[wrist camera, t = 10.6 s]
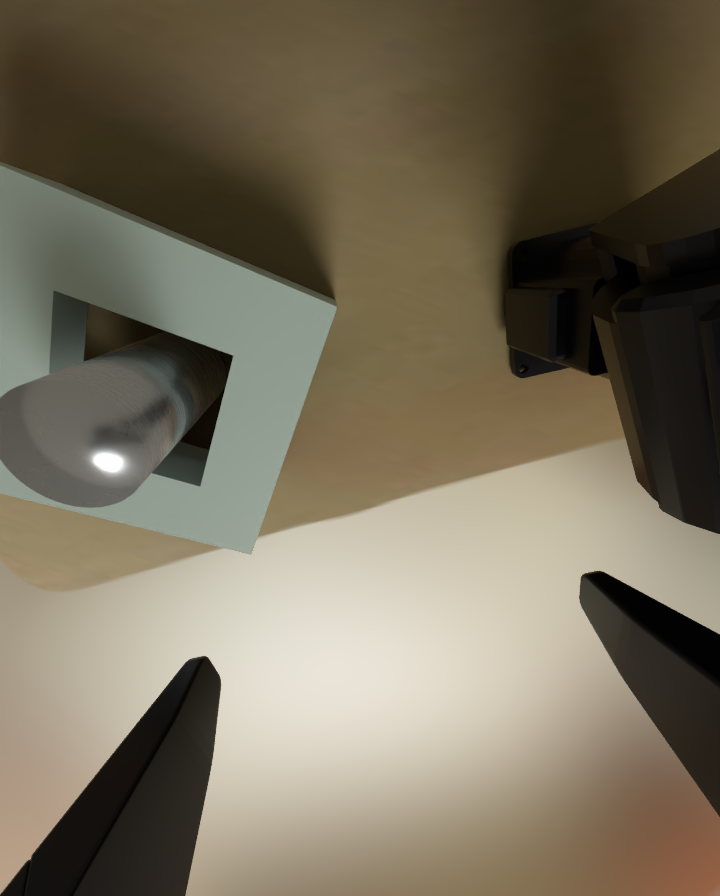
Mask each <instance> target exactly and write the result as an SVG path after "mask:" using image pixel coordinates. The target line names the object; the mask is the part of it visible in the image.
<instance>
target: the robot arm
mask: <svg viewBox="0 0 720 896" xmlns="http://www.w3.org/2000/svg"><path fill="white" fill-rule="evenodd" d="M520 248H522V249H523V251H524V254H523V257H522V258H521V259H519V258H518V256H517V253H518V250H519V249H520ZM508 271H509V289H508V291H507V293H506V294H505V308H506V339H507V345H509V346H510V347H511V370H512V373H513V374H514V375H515V376H517V377H519V378H526V377H530V376H535V375H539V374H544V373H548V372H552V371H557V370H561V369H565V368H572V369H575V370H578V371H581V372H583V373H586V374H589V375H594V376H596V375H599V376H601V377H604V378H607V379H610V382H611V385H612V389H613V393H614V396H615V400H616V404H617V408H618V411H619V415H620V419H621V423H622V426H623V430H624V434H625V437H626V441H627V445H628V449H629V452H630V456H631V459H632V464H633V467H634V471H635V475H636V478H637V481H638V482H639V483H640V484H641V485H642V487H643V488H644V489H645V490H646V491H647V492H648V493H649V495H650V496H651V497H652V498H653V499H655V500H656V501H657V502H658V504H659V508H660V509H661V510H662V511H663V512H666V513H667V514H669V515H671V516H673V517H675V518H677V519H679V520H681V521H682V522H685V523H687V524H690V525H693V526H696V527H700V528H703V529H706V530H708V531H711V532H714V533H718V534H720V149H719V150H718V151H716V152H714V153H713V154H711V155H709V156H708V157H706V158H704V159H703V160H701V161H700V162H698V163H696V164H695V165H693V166H691V167H690V168H688V169H686V170H685V171H683V172H681V173H680V174H678V175H677V176H675V177H673V178H672V179H670V180H668V181H667V182H665V183H663V184H662V185H660V186H658V187H657V188H655V189H654V190H652V191H650V192H649V193H647V194H645V195H644V196H642V197H640V198H639V199H637V200H635V201H634V202H632V203H631V204H629V205H627V206H626V207H624V208H622V209H621V210H619V211H617V212H616V213H614V214H612V215H611V216H609V217H607V218H606V219H604V220H603V221H601V222H599V223H595V224H591V225H587V226H583V227H579V228H574V229H570V230H566V231H562V232H558V233H553V234H549V235H545V236H541V237H537V238H533V239H528V240H524V241H520V242H517V243H515V244H514V245H513V246H512V247H511V248H510V250H509V253H508ZM523 364H525V369H524V370H523V371H521V372H520V371H519V369H520V367H521V365H523ZM579 599H580V604H581V606H582V609H583V610H584V612H585V614H586V616H587V617H588V619H589V621H590V623H591V624H592V626H593V628H594V630H595V631H596V633H597V635H598V636H599V638H600V640H601V642H602V643H603V645H604V647H605V649H606V651H607V652H608V654H609V656H610V657H611V659H612V661H613V663H614V665H615V666H616V668H617V669H618V671H619V673H620V674H621V676H622V678H623V679H624V681H625V682H626V684H627V685H628V686H629V688H630V689H631V691H632V692H633V694H634V695H635V697H636V698H637V700H638V701H639V702H640V704H641V705H642V707H643V708H644V710H645V711H646V712H647V714H648V715H649V717H650V718H651V720H652V721H653V722H654V724H655V725H656V727H657V728H658V730H659V731H660V732H661V734H662V735H663V737H664V738H665V740H666V741H667V742H668V744H669V745H670V747H671V748H672V750H673V751H674V752H675V754H676V755H677V757H678V758H679V760H680V761H681V762H682V764H683V765H684V767H685V768H686V770H687V771H688V772H689V774H690V775H691V777H692V778H693V779H694V781H695V782H696V784H697V785H698V787H699V788H700V790H701V791H702V792H703V794H704V795H705V796H706V798H707V800H708V801H709V802H710V804H711V805H712V807H713V808H714V809H715V811H716V812H717V814H718V815H719V817H720V634H718V633H716V632H714V631H712V630H710V629H709V628H707V627H705V626H703V625H701V624H699V623H697V622H696V621H693V620H692V619H690V618H688V617H686V616H684V615H683V614H680V613H679V612H677V611H675V610H673V609H671V608H670V607H668V606H666V605H664V604H662V603H660V602H658V601H657V600H655V599H653V598H651V597H649V596H647V595H645V594H644V593H642V592H640V591H638V590H636V589H634V588H632V587H631V586H629V585H627V584H625V583H623V582H621V581H620V580H618V579H616V578H614V577H612V576H610V575H608V574H607V573H604V572H602V571H594V572H590V573H585V574H583V575H582V577H581V584H580V596H579ZM220 690H221V679H220V676H219V674H218V672H217V671H216V669H215V668H214V666H213V664H212V663H211V661H210V660H209V658H208V657H206V656H202V657H197V658H192V659H190V660H188V661H187V662H186V663H185V664H184V665H183V667H182V668H181V669H180V670H179V671H178V673H177V674H176V675H175V676H174V678H173V679H172V680H171V682H170V683H169V684H168V685H167V686H166V688H165V689H164V690H163V691H162V693H161V694H160V695H159V697H158V698H157V699H156V700H155V702H154V703H153V704H152V705H151V707H150V708H149V709H148V710H147V712H146V713H145V714H144V716H143V717H142V718H141V719H140V721H139V722H138V723H137V724H136V725H135V727H134V728H133V729H132V730H131V732H130V733H129V734H128V735H127V737H126V738H125V739H124V740H123V742H122V743H121V744H120V745H119V747H118V748H117V749H116V751H115V752H114V753H113V754H112V755H111V757H110V758H109V759H108V760H107V762H106V763H105V764H104V765H103V767H102V768H101V769H100V771H99V772H98V773H97V774H96V775H95V777H94V778H93V779H92V780H91V782H90V783H89V784H88V785H87V787H86V788H85V789H84V790H83V792H82V793H81V794H80V795H79V797H78V798H77V799H76V800H75V802H74V803H73V804H72V806H71V807H70V808H69V809H68V810H67V812H66V813H65V814H64V816H63V817H62V818H61V819H60V820H59V822H58V823H57V824H56V825H55V827H54V828H53V829H52V831H51V832H50V833H49V834H48V835H47V837H46V838H45V839H44V840H43V842H42V843H41V844H40V846H39V847H38V848H37V849H36V851H35V852H34V853H33V855H32V857H31V860H28V861H27V862H26V863H25V864H24V865H23V867H22V868H21V869H20V870H19V872H18V873H17V874H16V875H15V877H14V878H13V879H12V880H11V882H10V883H9V884H8V886H7V887H6V888H5V889H4V890H3V892H2V893H1V894H0V896H185V894H186V889H187V884H188V879H189V874H190V869H191V864H192V859H193V855H194V850H195V845H196V840H197V835H198V830H199V825H200V820H201V815H202V811H203V806H204V800H205V796H206V791H207V786H208V781H209V776H210V771H211V765H212V758H213V752H214V742H215V734H216V725H217V717H218V708H219V699H220Z"/></svg>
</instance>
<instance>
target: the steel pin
mask: <svg viewBox="0 0 720 896" xmlns="http://www.w3.org/2000/svg"><path fill="white" fill-rule="evenodd" d="M225 382H226V369H225V364H224V362H223V359H222V357H221V355H220V354H219V352H218V351H217V349H214V348H211V347H208V346H206V345H203V344H200V343H197V342H195V341H192V340H189V339H186V338H184V337H181V336H178V335H175V334H173V333H170V332H167V331H164V332H161V333H158V334H156V335H153V336H150V337H148V338H145V339H142V340H140V341H137V342H134V343H132V344H129V345H126V346H124V347H121V348H118V349H116V350H113V351H110V352H108V353H105V354H102V355H100V356H97V357H94V358H92V359H89V360H86V361H84V362H81V363H78V364H76V365H73V366H70V367H68V368H65V369H62V370H60V371H57V372H54V373H52V374H49V375H46V376H44V377H41V378H38V379H36V380H33V381H30V382H28V383H25V384H22V385H20V386H17V387H15V388H13V389H11V390H9V391H8V392H6V393H5V394H4V395H3V396H1V398H0V460H1V461H2V463H3V464H4V465H5V467H6V468H7V469H8V470H9V471H10V472H11V473H12V474H13V475H14V476H15V477H16V478H17V479H18V480H19V481H20V482H22V483H23V484H24V485H26V486H27V487H28V488H30V489H32V490H33V491H35V492H36V493H38V494H40V495H42V496H44V497H46V498H49V499H51V500H54V501H56V502H59V503H63V504H66V505H71V506H76V507H86V508H95V507H105V506H110V505H113V504H116V503H119V502H121V501H123V500H125V499H126V498H128V497H129V496H131V495H132V494H133V493H134V492H135V491H136V490H137V489H138V488H139V487H140V486H141V484H142V483H143V482H144V481H145V480H146V479H147V478H148V476H149V475H150V474H151V473H152V472H153V471H154V470H155V468H156V467H157V466H158V465H159V464H160V463H161V462H162V460H163V459H164V458H165V457H166V456H167V455H168V454H169V452H170V451H171V450H172V449H173V448H174V447H175V446H176V444H177V443H178V442H179V441H180V440H181V439H182V438H183V436H184V435H185V434H186V433H187V432H188V431H189V430H190V429H191V427H192V426H193V425H194V424H195V423H196V422H197V421H198V419H199V418H200V417H201V416H202V415H203V414H204V413H205V411H206V410H207V409H208V408H209V407H210V406H211V405H212V403H213V402H214V401H215V400H216V399H217V398H218V397H219V395H220V394H221V392H222V391H223V389H224V386H225Z"/></svg>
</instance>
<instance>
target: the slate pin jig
mask: <svg viewBox="0 0 720 896" xmlns="http://www.w3.org/2000/svg"><path fill="white" fill-rule="evenodd" d="M89 303H90V304H93V305H95V306H98V307H101V308H104V309H106V310H109V311H112V312H115V313H117V314H120V315H123V316H126V317H128V318H131V319H134V320H137V321H140V322H142V323H145V324H148V325H151V326H153V327H156V328H159V329H162V330H164V331H167V332H170V333H173V334H175V335H178V336H181V337H184V338H186V339H189V340H192V341H195V342H197V343H200V344H203V345H206V346H208V347H211V348H214V349H217V350H219V351H222V352H225V353H228V354H230V355H233V359H232V363H231V367H230V371H229V375H228V379H227V383H226V387H225V391H224V395H223V399H222V403H221V407H220V411H219V415H218V419H217V423H216V427H215V431H214V435H213V439H212V442H211V446H210V450H207V449H204V448H200V447H197V446H194V445H190V444H187V443H184V442H180V441H179V442H178V443H177V444H176V446H175V447H174V448H173V449H172V450H171V451H170V452H169V454H168V455H167V456H166V457H165V458H164V459H163V460H162V462H161V463H160V464H159V465H158V466H157V467H156V468H155V470H154V471H153V472H152V473H151V474H150V475H149V476H148V478H147V479H146V480H145V481H144V482H143V483H142V484H141V486H140V487H139V488H138V489H137V490H136V491H135V492H134V493H133V494H132V495H131V496H129V497H128V498H126V499H125V500H123V501H121V502H119V503H116V504H113V505H110V506H105V507H95V508H86V507H76V506H71V505H66V504H63V503H59V502H56V501H54V500H51V499H49V498H46V497H44V496H42V495H40V494H38V493H36V492H35V491H33V490H32V489H30V488H28V487H27V486H26V485H24V484H23V483H22V482H20V481H19V480H18V479H17V478H16V477H15V476H14V475H13V474H12V473H11V472H10V471H9V470H8V469H7V468H6V467H5V465H4V464H3V463H2V461H1V460H0V494H4V495H8V496H12V497H17V498H21V499H25V500H29V501H33V502H37V503H41V504H45V505H49V506H54V507H58V508H62V509H66V510H70V511H74V512H78V513H82V514H86V515H91V516H95V517H99V518H103V519H107V520H111V521H115V522H119V523H123V524H128V525H132V526H136V527H140V528H144V529H148V530H152V531H156V532H160V533H165V534H169V535H173V536H177V537H181V538H185V539H189V540H193V541H197V542H202V543H206V544H210V545H214V546H218V547H222V548H226V549H230V550H235V551H239V552H243V553H247V554H251V553H252V551H253V548H254V545H255V542H256V539H257V536H258V533H259V531H260V528H261V525H262V522H263V519H264V516H265V513H266V510H267V508H268V505H269V502H270V499H271V496H272V493H273V490H274V487H275V485H276V482H277V479H278V476H279V473H280V470H281V467H282V464H283V462H284V459H285V456H286V453H287V450H288V447H289V444H290V442H291V439H292V436H293V433H294V430H295V427H296V424H297V421H298V419H299V416H300V413H301V410H302V407H303V404H304V401H305V398H306V396H307V393H308V390H309V387H310V384H311V381H312V378H313V375H314V373H315V370H316V367H317V364H318V361H319V358H320V355H321V352H322V350H323V347H324V344H325V341H326V338H327V335H328V332H329V330H330V327H331V324H332V321H333V318H334V315H335V312H336V309H337V304H336V300H334V299H332V298H330V297H327V296H325V295H322V294H320V293H318V292H315V291H313V290H311V289H308V288H306V287H304V286H301V285H299V284H297V283H294V282H292V281H289V280H287V279H285V278H282V277H280V276H278V275H275V274H273V273H271V272H268V271H266V270H264V269H261V268H259V267H256V266H254V265H252V264H249V263H247V262H245V261H242V260H240V259H238V258H235V257H233V256H231V255H228V254H226V253H223V252H221V251H219V250H216V249H214V248H212V247H209V246H207V245H205V244H202V243H200V242H198V241H195V240H193V239H190V238H188V237H186V236H183V235H181V234H179V233H176V232H174V231H172V230H169V229H167V228H165V227H162V226H160V225H157V224H155V223H153V222H150V221H148V220H146V219H143V218H141V217H139V216H136V215H134V214H132V213H129V212H127V211H125V210H122V209H120V208H117V207H115V206H113V205H110V204H108V203H106V202H103V201H101V200H99V199H96V198H94V197H92V196H89V195H87V194H84V193H82V192H80V191H77V190H75V189H73V188H70V187H68V186H66V185H63V184H61V183H58V182H55V181H52V180H50V179H47V178H44V177H41V176H39V175H36V174H33V173H30V172H27V171H25V170H22V169H19V168H16V167H14V166H11V165H8V164H5V163H3V162H0V398H1V396H3V395H4V394H5V393H6V392H8V391H9V390H11V389H13V388H15V387H17V386H20V385H22V384H25V383H28V382H30V381H33V380H36V379H38V378H41V377H44V376H46V375H49V374H52V373H54V372H57V371H60V370H62V369H65V368H68V367H70V366H73V365H76V364H78V363H81V362H83V361H84V350H85V338H86V327H87V316H88V305H89Z"/></svg>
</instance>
